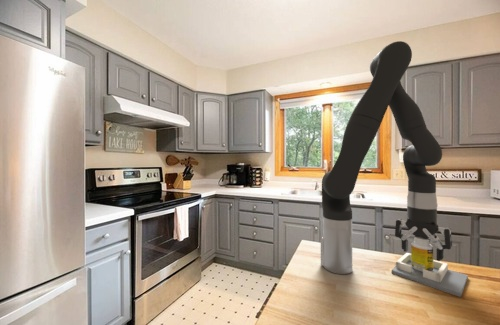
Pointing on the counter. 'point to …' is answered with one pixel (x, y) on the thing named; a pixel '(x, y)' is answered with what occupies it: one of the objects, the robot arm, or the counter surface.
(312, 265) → the counter surface
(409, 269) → the grey board with frame
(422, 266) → the supplement bottle
